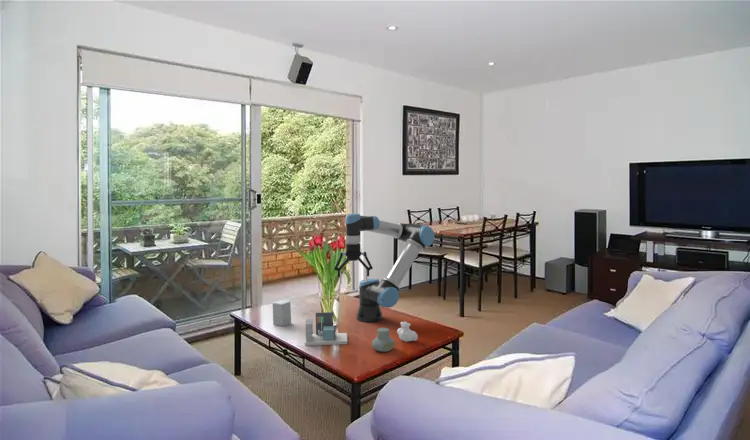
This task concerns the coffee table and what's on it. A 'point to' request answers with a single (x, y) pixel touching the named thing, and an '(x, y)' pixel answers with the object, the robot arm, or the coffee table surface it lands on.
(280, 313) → the supplement box
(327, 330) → the block
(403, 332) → the duck figurine
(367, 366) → the coffee table surface
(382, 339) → the air freshener
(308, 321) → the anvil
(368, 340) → the coffee table surface
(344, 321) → the coffee table surface
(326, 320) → the gauge stand
